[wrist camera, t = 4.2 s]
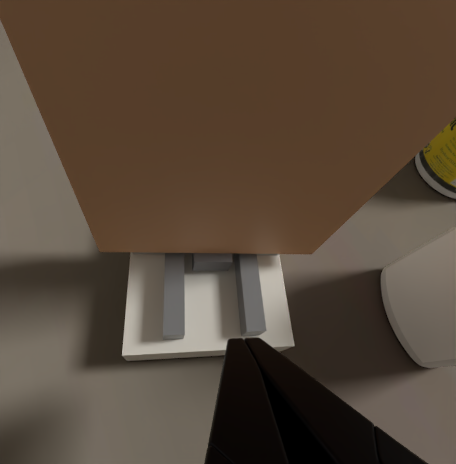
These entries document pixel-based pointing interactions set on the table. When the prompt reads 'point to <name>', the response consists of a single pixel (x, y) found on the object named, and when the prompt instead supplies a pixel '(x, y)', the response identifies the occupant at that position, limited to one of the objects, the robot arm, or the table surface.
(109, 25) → the fader paddle
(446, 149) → the supplement bottle
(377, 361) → the table surface
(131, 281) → the white base with rails
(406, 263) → the eye dropper bottle
